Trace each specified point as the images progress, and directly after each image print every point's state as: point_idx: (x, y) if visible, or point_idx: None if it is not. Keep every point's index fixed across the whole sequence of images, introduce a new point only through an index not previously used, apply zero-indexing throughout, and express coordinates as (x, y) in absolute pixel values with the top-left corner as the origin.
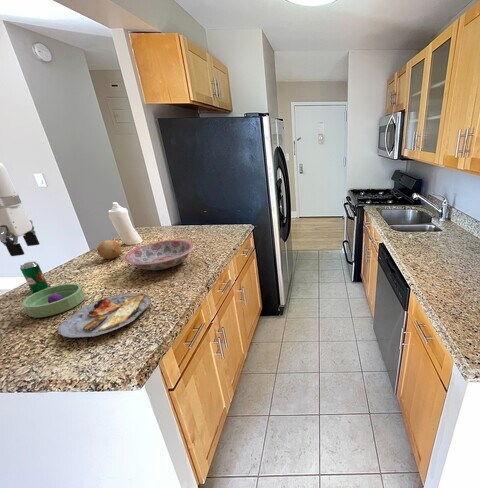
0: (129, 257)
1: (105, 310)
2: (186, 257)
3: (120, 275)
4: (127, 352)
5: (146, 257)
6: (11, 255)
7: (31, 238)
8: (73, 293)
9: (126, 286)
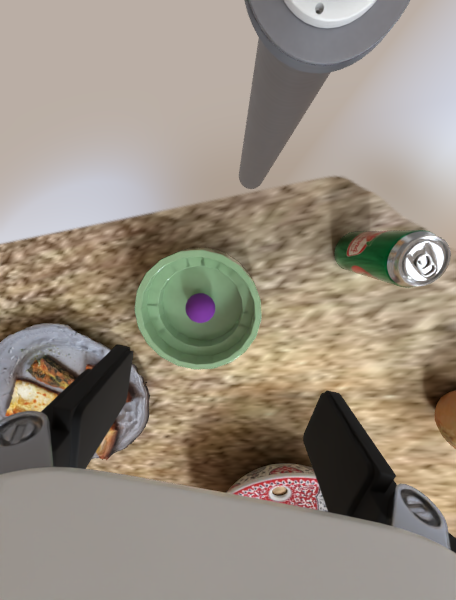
0: (300, 483)
1: None
2: None
3: (291, 412)
4: None
5: None
6: (117, 348)
7: (333, 475)
8: (169, 356)
9: (211, 419)
